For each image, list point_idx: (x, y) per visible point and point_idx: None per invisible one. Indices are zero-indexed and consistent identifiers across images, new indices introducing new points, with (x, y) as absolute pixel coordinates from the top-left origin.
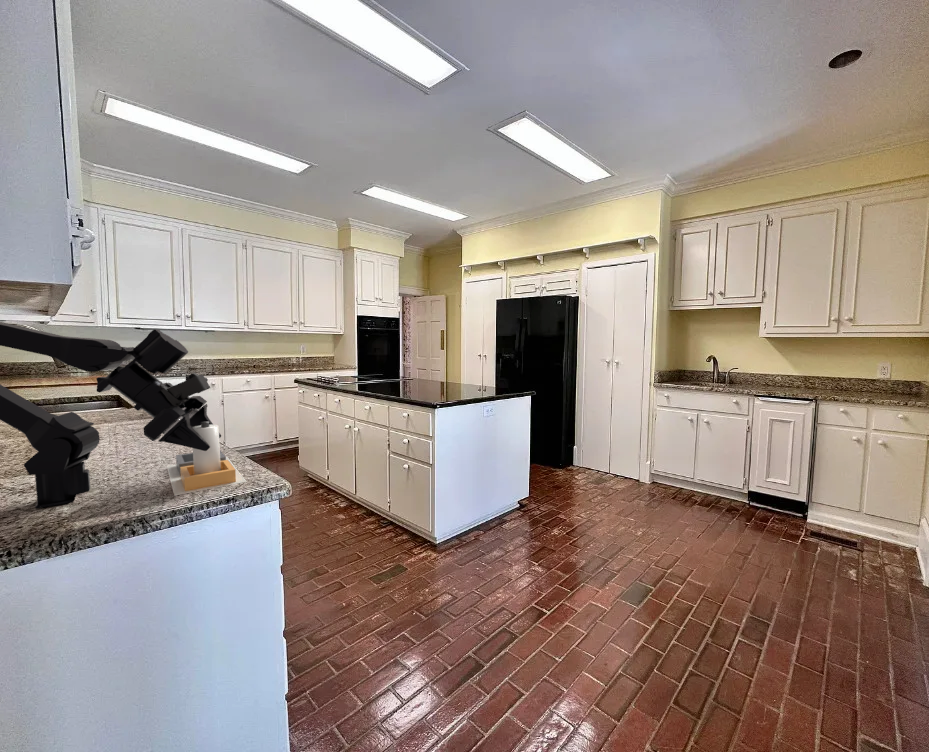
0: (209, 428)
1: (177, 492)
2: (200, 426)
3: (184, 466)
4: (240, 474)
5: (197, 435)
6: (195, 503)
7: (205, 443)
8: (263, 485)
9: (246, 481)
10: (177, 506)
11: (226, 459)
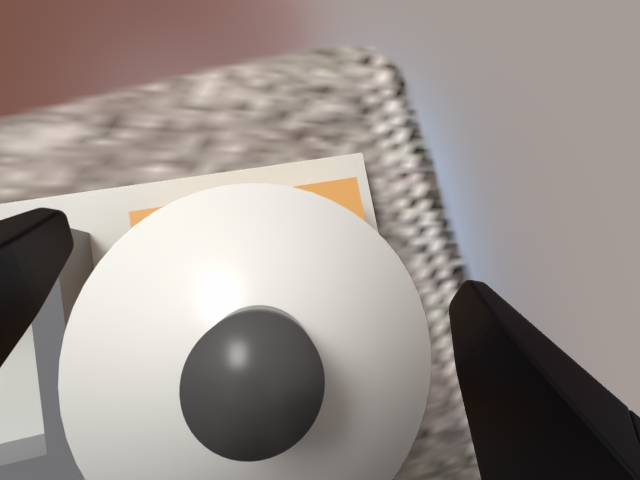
0: (407, 291)
1: None
2: (183, 439)
3: None
4: (243, 172)
5: (616, 398)
6: None
7: (516, 312)
8: (357, 106)
9: (359, 154)
10: (457, 382)
11: None
